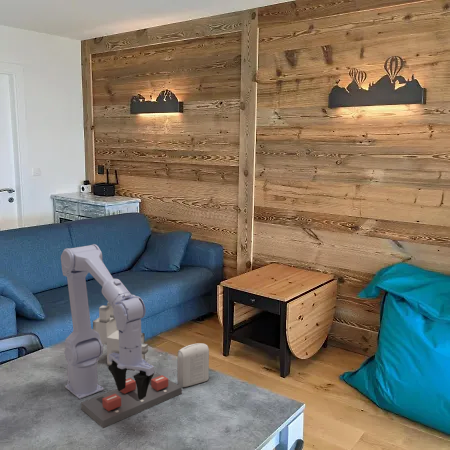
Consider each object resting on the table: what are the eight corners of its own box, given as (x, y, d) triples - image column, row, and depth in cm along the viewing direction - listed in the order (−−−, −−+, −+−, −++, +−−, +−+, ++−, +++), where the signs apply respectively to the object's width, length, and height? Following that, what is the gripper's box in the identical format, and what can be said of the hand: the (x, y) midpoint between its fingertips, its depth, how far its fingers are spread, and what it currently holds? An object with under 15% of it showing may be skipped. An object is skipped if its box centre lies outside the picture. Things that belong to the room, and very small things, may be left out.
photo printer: (203, 375, 155) (204, 338, 153) (210, 380, 152) (211, 343, 150) (175, 383, 150) (175, 346, 148) (181, 389, 146) (181, 351, 144)
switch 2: (118, 389, 141) (118, 381, 140) (130, 385, 143) (130, 377, 143) (124, 393, 139) (123, 385, 138) (135, 389, 141) (135, 381, 141)
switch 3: (151, 387, 143) (151, 379, 142) (162, 382, 145) (162, 374, 145) (157, 390, 140) (157, 382, 140) (168, 386, 143) (168, 378, 143)
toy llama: (141, 371, 157) (140, 313, 154) (94, 363, 162) (92, 306, 159) (151, 362, 164) (150, 305, 161) (106, 354, 169) (104, 299, 166)
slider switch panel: (81, 409, 135) (81, 402, 134) (157, 378, 152) (157, 372, 152) (103, 427, 126) (103, 420, 126) (181, 393, 144) (181, 386, 143)
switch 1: (102, 406, 132) (102, 398, 131) (115, 401, 134) (115, 393, 134) (108, 411, 130) (108, 402, 129) (121, 405, 132) (121, 397, 132)
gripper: (99, 342, 126) (101, 391, 128) (139, 356, 117) (141, 408, 120) (119, 334, 131) (120, 381, 133) (159, 346, 123) (160, 396, 125)
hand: (131, 393), depth 127 cm, fingers open, 7 cm apart
